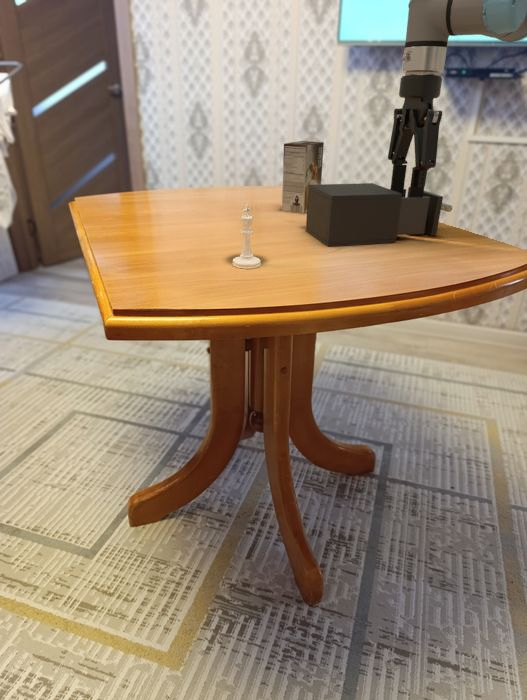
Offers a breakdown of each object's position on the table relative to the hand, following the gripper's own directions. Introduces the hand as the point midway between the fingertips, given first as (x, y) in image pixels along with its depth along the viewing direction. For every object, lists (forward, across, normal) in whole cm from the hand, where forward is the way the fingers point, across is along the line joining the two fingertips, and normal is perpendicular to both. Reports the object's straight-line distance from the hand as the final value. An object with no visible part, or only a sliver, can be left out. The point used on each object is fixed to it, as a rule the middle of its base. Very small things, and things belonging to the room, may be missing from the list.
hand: (405, 200), depth 105 cm
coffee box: (+7, -25, -14) cm, 29 cm away
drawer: (+6, 0, 0) cm, 6 cm away
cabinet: (+7, 0, -12) cm, 14 cm away
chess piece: (+7, +14, -37) cm, 40 cm away
